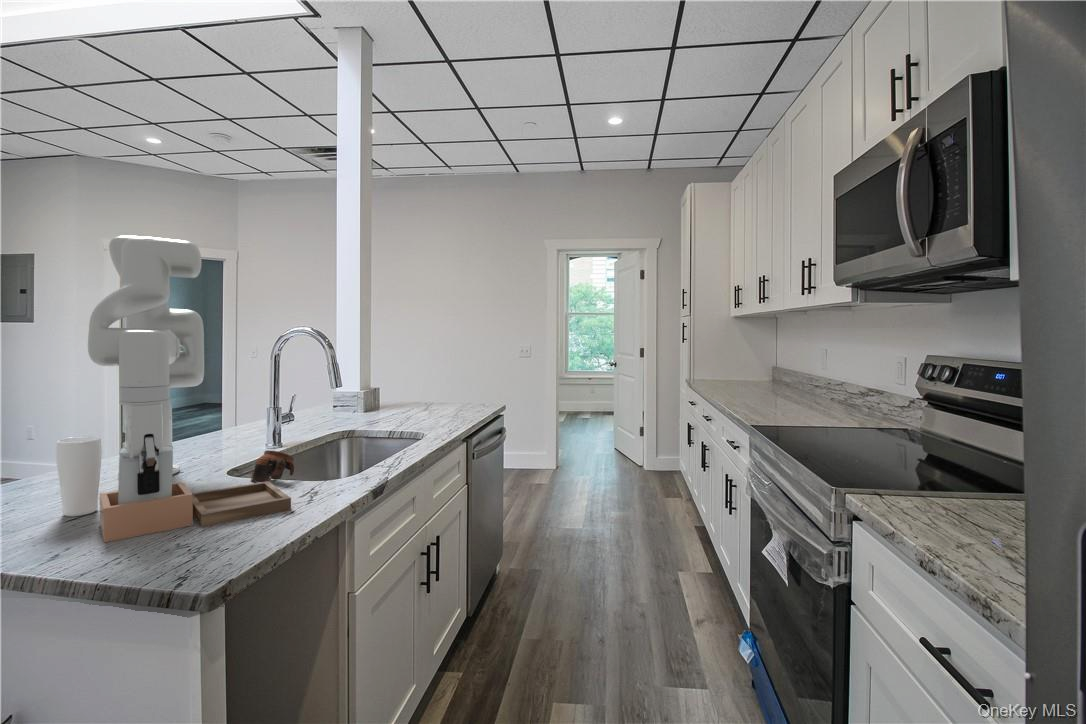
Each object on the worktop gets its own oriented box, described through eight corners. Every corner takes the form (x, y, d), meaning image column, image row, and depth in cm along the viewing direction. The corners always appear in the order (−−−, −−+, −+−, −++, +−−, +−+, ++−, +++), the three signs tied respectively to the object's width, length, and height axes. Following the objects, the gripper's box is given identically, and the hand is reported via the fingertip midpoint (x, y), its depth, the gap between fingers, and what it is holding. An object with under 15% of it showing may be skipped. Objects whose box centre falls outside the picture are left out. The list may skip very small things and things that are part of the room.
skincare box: (117, 534, 94) (115, 454, 93) (119, 524, 99) (118, 447, 98) (173, 525, 99) (172, 448, 98) (173, 515, 104) (172, 442, 103)
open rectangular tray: (100, 524, 98) (99, 493, 98) (182, 510, 107) (182, 481, 107) (104, 542, 90) (103, 508, 90) (192, 525, 99) (192, 494, 99)
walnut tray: (186, 505, 110) (186, 494, 110) (268, 491, 121) (268, 481, 121) (201, 527, 98) (201, 514, 98) (291, 509, 109) (291, 498, 109)
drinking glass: (75, 520, 100) (74, 443, 99) (48, 517, 102) (46, 441, 101) (111, 509, 107) (110, 437, 106) (85, 506, 108) (83, 435, 107)
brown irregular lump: (242, 481, 130) (255, 450, 134) (278, 491, 136) (290, 461, 140) (259, 478, 122) (273, 445, 126) (297, 489, 128) (309, 457, 132)
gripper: (115, 391, 101) (116, 482, 102) (123, 401, 89) (125, 504, 90) (162, 389, 106) (163, 476, 107) (176, 398, 94) (178, 496, 95)
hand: (146, 488), depth 98 cm, fingers closed on skincare box, 6 cm apart
